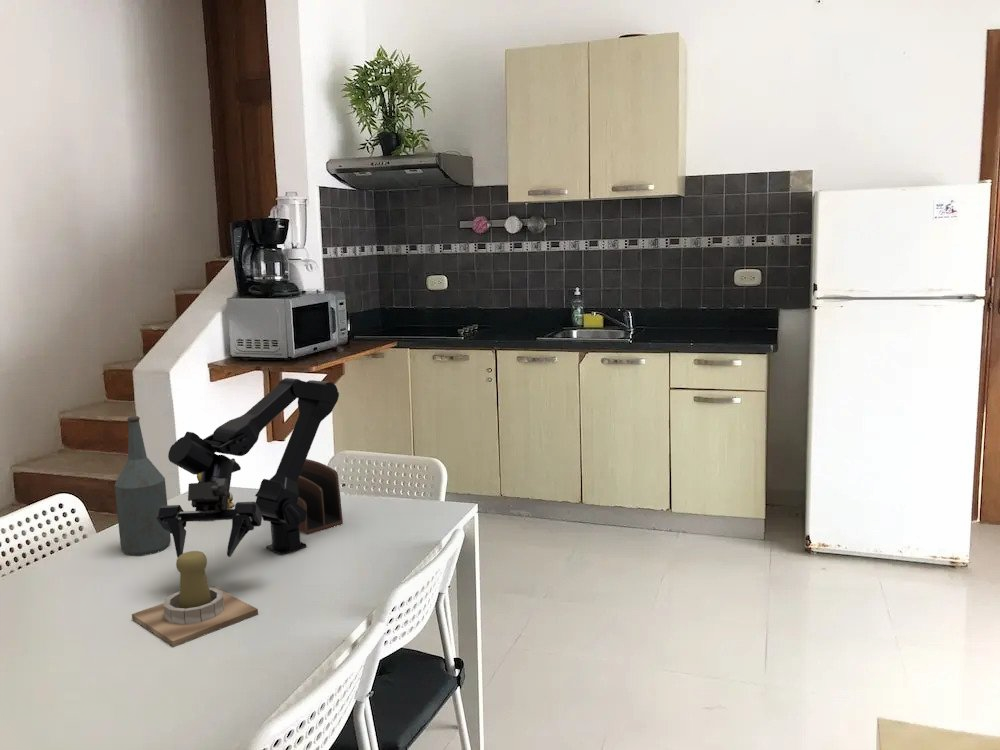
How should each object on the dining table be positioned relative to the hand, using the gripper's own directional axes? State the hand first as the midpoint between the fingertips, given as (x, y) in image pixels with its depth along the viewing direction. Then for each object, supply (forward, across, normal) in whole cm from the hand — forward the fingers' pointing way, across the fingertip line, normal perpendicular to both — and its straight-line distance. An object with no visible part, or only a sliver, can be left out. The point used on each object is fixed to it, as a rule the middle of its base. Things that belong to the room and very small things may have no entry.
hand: (203, 557), depth 158 cm
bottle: (-15, -22, +27) cm, 38 cm away
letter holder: (-25, +10, +38) cm, 46 cm away
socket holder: (+11, 0, +1) cm, 11 cm away
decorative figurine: (-30, -13, +42) cm, 53 cm away
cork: (+10, 0, 0) cm, 11 cm away
